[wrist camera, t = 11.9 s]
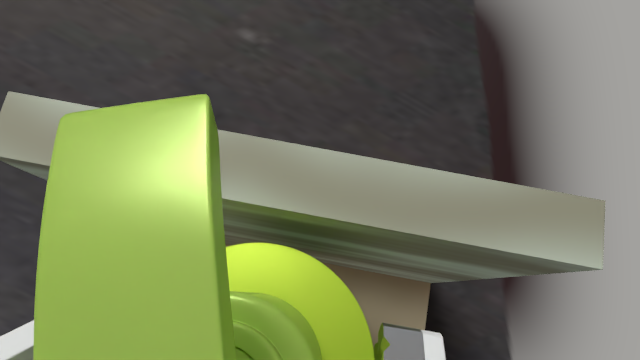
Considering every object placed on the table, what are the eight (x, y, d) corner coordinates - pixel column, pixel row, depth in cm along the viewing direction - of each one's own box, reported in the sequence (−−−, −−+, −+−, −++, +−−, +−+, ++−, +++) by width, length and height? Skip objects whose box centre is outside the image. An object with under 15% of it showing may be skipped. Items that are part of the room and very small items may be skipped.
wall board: (395, 476, 31) (581, 880, 10) (138, 424, 32) (-225, 701, 10) (423, 257, 35) (605, 200, 13) (192, 213, 35) (8, 91, 14)
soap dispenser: (337, 243, 25) (371, 48, 5) (359, 380, 23) (522, 835, 4) (229, 259, 25) (-143, 121, 5) (242, 398, 23) (-241, 969, 3)
